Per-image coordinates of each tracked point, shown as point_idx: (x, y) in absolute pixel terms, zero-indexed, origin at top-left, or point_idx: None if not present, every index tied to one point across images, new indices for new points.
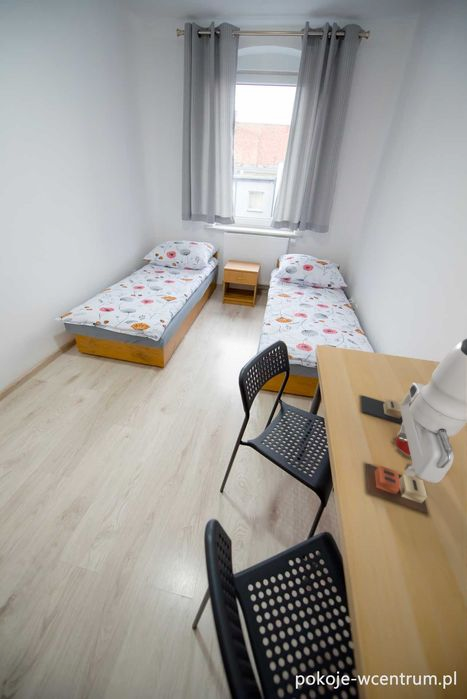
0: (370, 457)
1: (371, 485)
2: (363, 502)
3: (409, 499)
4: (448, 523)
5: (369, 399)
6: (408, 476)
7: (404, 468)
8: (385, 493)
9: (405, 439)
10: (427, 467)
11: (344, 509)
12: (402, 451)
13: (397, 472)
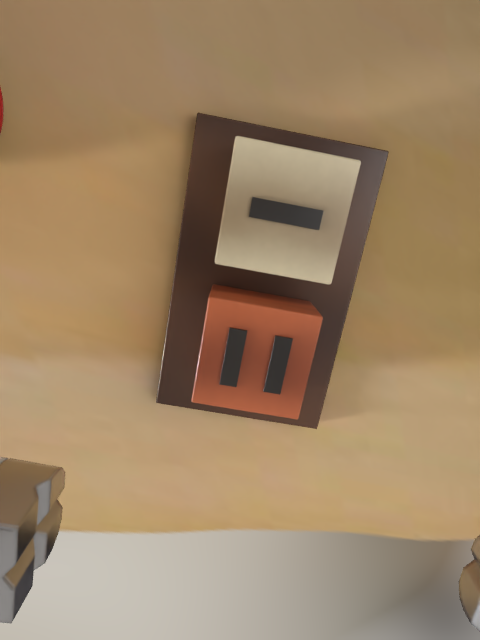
0: (101, 362)
1: None
2: (364, 452)
3: None
4: (423, 35)
5: None
6: (228, 235)
7: (464, 598)
8: (314, 353)
9: (41, 506)
10: None
11: (404, 529)
12: None
13: (215, 301)
